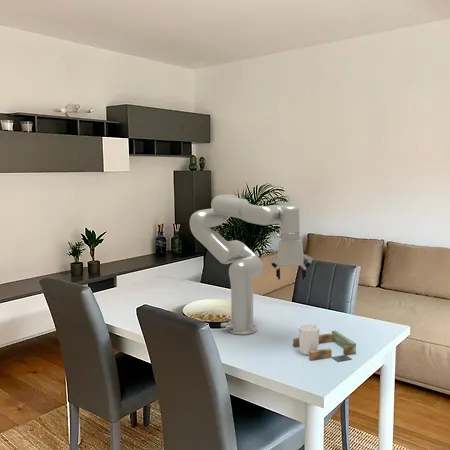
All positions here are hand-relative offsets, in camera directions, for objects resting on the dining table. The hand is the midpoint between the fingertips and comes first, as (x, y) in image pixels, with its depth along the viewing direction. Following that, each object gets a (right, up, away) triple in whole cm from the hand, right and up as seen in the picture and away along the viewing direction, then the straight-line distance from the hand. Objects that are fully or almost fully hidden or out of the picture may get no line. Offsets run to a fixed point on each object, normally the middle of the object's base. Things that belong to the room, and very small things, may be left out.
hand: (291, 278), depth 186 cm
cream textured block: (+6, -28, -8) cm, 29 cm away
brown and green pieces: (+11, -27, -6) cm, 30 cm away
